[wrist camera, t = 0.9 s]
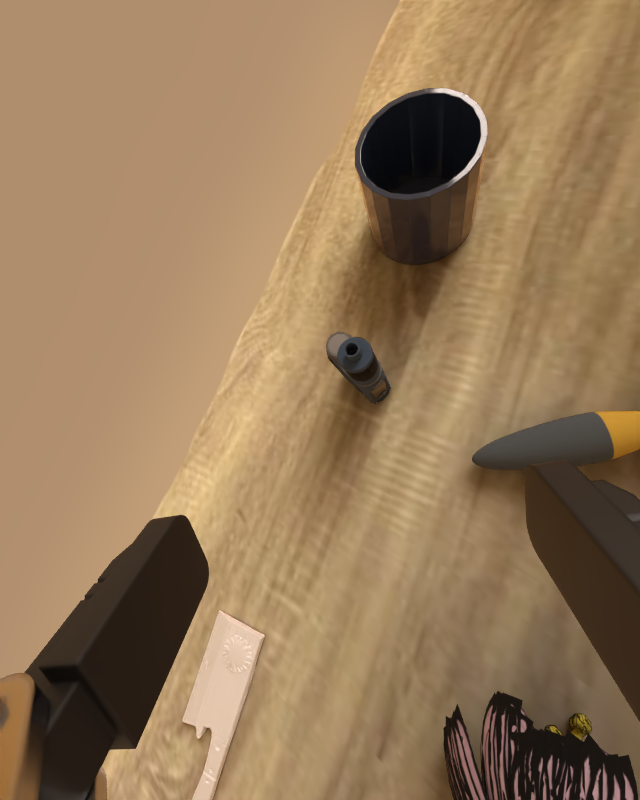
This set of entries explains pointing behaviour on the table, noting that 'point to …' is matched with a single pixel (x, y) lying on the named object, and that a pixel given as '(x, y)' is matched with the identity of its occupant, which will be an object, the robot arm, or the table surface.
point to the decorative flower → (532, 759)
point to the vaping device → (358, 365)
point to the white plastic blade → (221, 692)
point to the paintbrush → (565, 441)
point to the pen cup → (422, 173)
